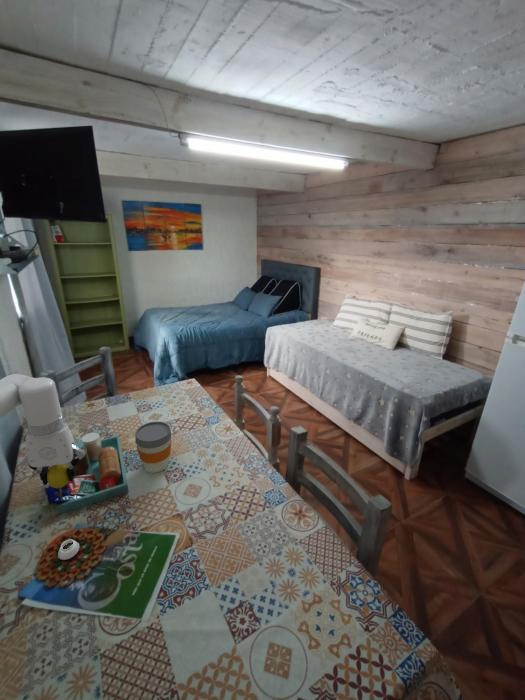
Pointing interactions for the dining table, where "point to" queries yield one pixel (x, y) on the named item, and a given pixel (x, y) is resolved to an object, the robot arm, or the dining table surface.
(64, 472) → the lemon
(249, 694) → the dining table surface
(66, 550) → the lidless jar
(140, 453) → the reusable coffee cup
